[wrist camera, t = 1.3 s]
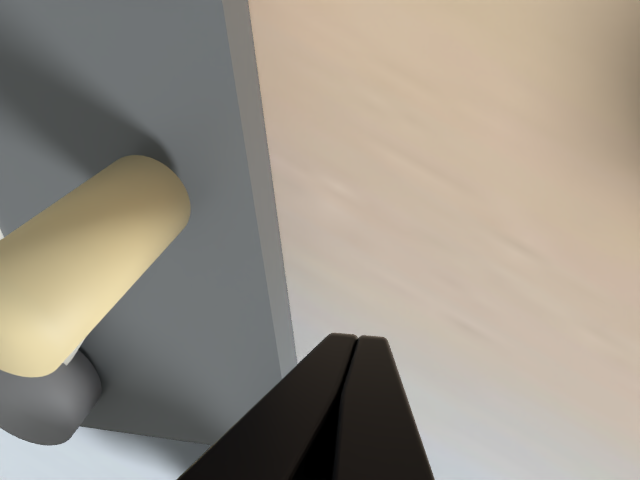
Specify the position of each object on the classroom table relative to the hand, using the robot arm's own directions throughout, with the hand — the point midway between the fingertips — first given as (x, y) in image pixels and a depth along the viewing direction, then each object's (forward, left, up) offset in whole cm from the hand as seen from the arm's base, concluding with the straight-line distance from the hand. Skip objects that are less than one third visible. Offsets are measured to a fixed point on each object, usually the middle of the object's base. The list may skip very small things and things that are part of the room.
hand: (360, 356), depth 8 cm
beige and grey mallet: (-6, +12, -8) cm, 16 cm away
